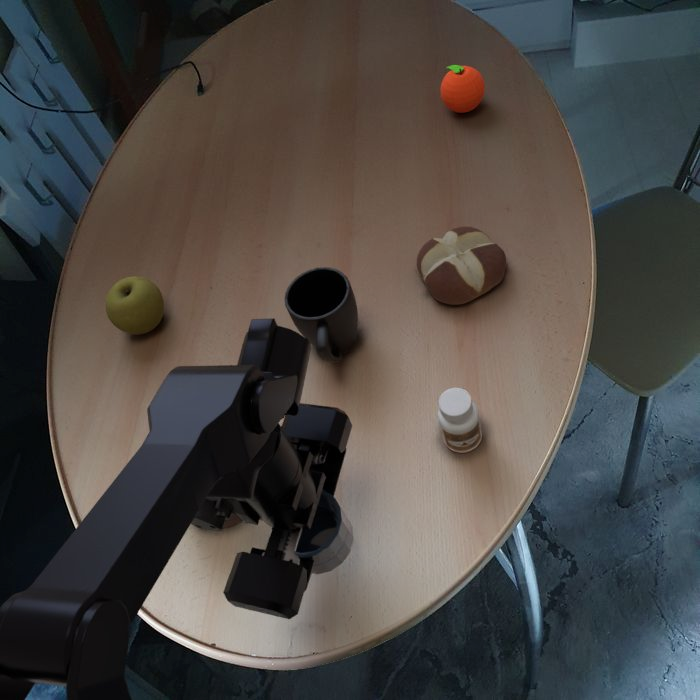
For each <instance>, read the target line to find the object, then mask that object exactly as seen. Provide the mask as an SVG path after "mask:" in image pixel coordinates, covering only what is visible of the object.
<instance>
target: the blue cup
mask: <svg viewBox="0 0 700 700" xmlns="http://www.w3.org/2000/svg"><path fill="white" fill-rule="evenodd" d="M290 532H292V531H290ZM289 536H290V535H289ZM354 538H355V537H354V529H353V525H352V523H351V521H350V520H349V518H348V517H347V515H346V514H345V512H344V510H343V509H342V507H341V505H340V504H339V502H338V500H337V499H336V498H335V495H334V496H333V495H331V494H330V493H328V492H327V491H325V490H324V489H322V492H321V495H320V499H319V502H318V505H317V509H316V512H315V515H314V519H313V522H312V525H311V529H306V528H303V529H302V532H301V535H300V539H299V542H298V545H297V548H296V552H295V553H296V554H297V555H298V556H299V557H303V558H308V559H312V560H314V561H315V562H314V567H313V571H312V574H313V575H320V574H325V573H330V572H332V571H334V570H335V569H337V568H338V567H339V566H341V565H342V564H344V562H345V561H346V560H347V558H348V556H349V555H350V553H351V551H352V547H353V543H354V540H355V539H354ZM288 541H289V540H288ZM286 545H288V544H286ZM285 550H287V549H286V548H285ZM312 574H311V575H312Z"/></svg>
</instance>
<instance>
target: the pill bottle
mask: <svg viewBox="0 0 700 700" xmlns="http://www.w3.org/2000/svg"><path fill="white" fill-rule="evenodd" d="M436 417H437V421H438V425H439V428H440V434H441V437H442V441H443V443H444V445H445V446H446V447H447V448H448V450H451V451H453V452H455V453H460V454H464V453H468V452H469V453H470V451H473V450H474V449H476V448H477V447H478V446H479V444H481V441H482V438H483V432H482V426H481V425H482V424H481V419H480V412H479V408H478V406H477V405H476V403H475V402H474V400H473V399H472V396H471V394H470V393H469V392H468V391H467V390H466V389H464V388H461V387H450V388H448V389H446V390H445V391H443V392H442V393H441V394H440V396H439V398H438V410H437V416H436Z"/></svg>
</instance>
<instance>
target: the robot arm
mask: <svg viewBox="0 0 700 700" xmlns="http://www.w3.org/2000/svg"><path fill="white" fill-rule="evenodd" d="M247 330H248V331H247V332H246V333H245V336H244V339H243V342H242V346H241V349H240V353H239V357H238V360H237V364H231V365H228V364H225V365H178V366H176V367H174V368H172V369H171V370H170V371H169V372H168V374H167V375H166V376H165V378H164V379H163V381H162V383H161V384H160V386H159V388H158V390H157V391H156V393H155V395H154V396H153V398H152V399H151V401H150V403H149V405H148V406H147V408H146V411H147V422H148V428H149V429H148V430H149V432H148V434H147V436H146V437H145V439H144V440H143V442H142V444H141V446H140V447H139V448H138V449H137V451H136V452H135V453H134V455H133V456H132V457H131V458H130V459H129V461H128V462H127V463H126V465H125V466H124V467H123V469H122V470H121V471H120V472H119V474H118V475H117V476H116V477H115V479H114V480H113V481H112V482H111V484H110V485H109V486H108V487H107V489H106V490H105V491H104V493H103V494H102V495H101V496H100V498H99V499H98V500H97V501H96V503H95V504H94V505H93V506H92V508H91V509H90V510H89V512H88V513H86V515H85V517H84V518H83V519H82V521H81V522H80V523H79V524H78V525H77V527H76V528H75V529H74V530H73V532H72V533H71V534H70V535H69V537H68V538H67V539H66V541H64V543H63V545H62V546H61V547H60V548H59V549H58V551H57V552H56V553H55V555H54V556H53V557H52V558H51V559H50V561H48V563H47V565H45V567H44V569H43V570H42V571H41V572H40V573H39V575H38V576H37V577H36V579H35V580H34V581H33V583H32V584H30V586H28V588H27V589H25V590H22V591H20V592H16V593H15V594H12V595H11V596H10V597H9V598H8V599H7V600H5V602H4V603H2V604H1V606H0V700H26V699H27V697H28V696H29V694H30V693H31V691H32V689H33V688H34V686H35V684H46V685H53V686H60V687H65V690H66V691H65V692H66V693H65V694H66V700H133V699H132V695H131V693H130V688H129V686H128V683H127V680H126V675H125V673H126V665H127V657H128V649H129V643H130V642H129V641H130V635H131V634H130V631H131V628H130V627H131V625H132V623H133V621H134V620H135V618H136V617H137V615H138V613H139V611H140V610H141V608H142V607H143V605H144V603H145V602H146V600H147V599H148V596H149V595H150V593H151V591H152V590H153V588H154V587H155V585H156V583H157V581H158V580H159V578H160V576H161V575H162V573H163V571H164V569H165V568H166V566H167V564H168V563H169V561H170V559H171V558H172V556H173V555H174V553H175V551H176V549H177V548H178V546H179V544H180V543H181V541H182V539H183V538H184V536H185V534H186V533H187V531H188V529H189V527H191V525H192V526H194V527H195V528H197V529H199V530H202V531H208V532H209V531H210V532H221V531H223V529H224V528H223V526H224V523H225V521H226V520H229V518H230V516H231V514H233V515H238V516H239V517H240V518H241V519H242V522H244V523H245V524H249V525H255V526H258V525H259V522H260V521H263V522H264V523H265V524H266V525H267V526H269V527H270V528H271V531H270V535H269V538H268V540H267V544H266V546H265V549H263V548H259V547H251V549H250V552H248V551H239V552H236V554H235V558H234V561H233V563H232V566H231V569H230V572H229V573H228V578H227V581H226V583H225V586H224V589H223V592H222V593H223V595H224V597H225V599H226V600H227V602H228V603H230V604H231V605H232V606H234V607H235V608H240V609H244V610H248V611H252V612H257V613H260V614H264V615H270V616H273V617H277V618H282V619H286V620H291V619H293V618H295V617H296V616H297V615H299V611H300V608H301V604H302V601H303V597H304V594H305V592H306V591H307V589H308V585H309V582H310V580H311V577H312V571H313V567H314V562H315V561H314V560H312V559H308V558H303V557H299V556H298V555H297V554H296V553H295V552H296V548H297V545H298V542H299V539H300V535H301V532H302V529H303V528H306V529H311V525H312V522H313V519H314V515H315V512H316V509H317V505H318V502H319V499H320V495H321V492H322V489H324V490H325V491H327V492H328V493H330V494H331V495H333V496H334V497H335V494H336V491H337V487H338V483H339V479H340V476H341V472H342V469H343V465H344V461H345V457H346V454H347V451H348V450H347V449H348V448H347V447H348V442H349V439H350V435H351V432H352V428H353V424H352V422H351V419H350V417H349V416H348V414H347V412H346V411H345V410H343V409H341V408H339V407H336V406H327V405H319V404H311V403H303V402H302V403H301V401H302V395H303V391H304V386H305V381H306V375H307V371H308V366H309V360H310V355H311V351H312V344H311V343H310V342H309V340H308V339H307V338H305V337H304V336H303V335H302V334H301V333H300V332H297V331H295V330H293V329H291V328H288V327H284V326H282V325H278V323H277V322H276V319H275V318H273V317H272V318H252V319H251V320H250V322H249V327H248V329H247ZM282 420H283V421H282ZM281 421H282V424H281V425H280V422H281ZM290 531H292V532H290ZM289 535H290V536H289ZM288 540H289V541H288ZM286 544H288V545H286ZM285 548H286V549H287V550H285Z"/></svg>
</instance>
